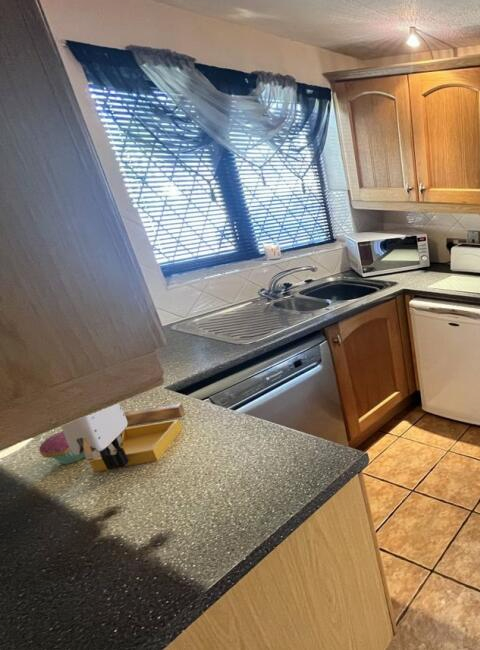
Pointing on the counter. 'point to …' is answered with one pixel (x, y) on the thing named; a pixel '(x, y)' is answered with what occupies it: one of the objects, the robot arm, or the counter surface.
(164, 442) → the tray
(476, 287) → the counter surface
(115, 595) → the counter surface
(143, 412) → the rail
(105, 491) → the counter surface
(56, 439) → the cupcake
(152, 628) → the counter surface
